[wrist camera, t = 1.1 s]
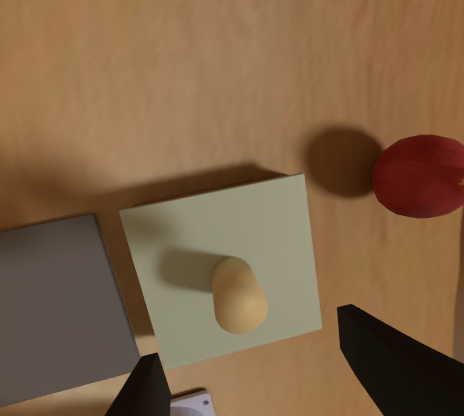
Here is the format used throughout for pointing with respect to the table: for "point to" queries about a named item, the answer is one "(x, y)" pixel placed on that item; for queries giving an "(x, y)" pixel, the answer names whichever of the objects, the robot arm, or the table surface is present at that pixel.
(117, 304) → the charcoal mat
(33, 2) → the table surface
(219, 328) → the lid
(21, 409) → the table surface
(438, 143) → the onion
